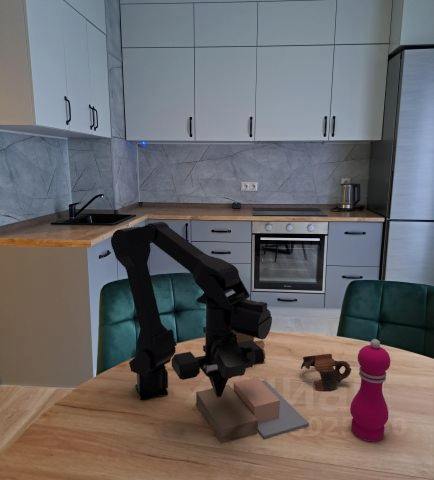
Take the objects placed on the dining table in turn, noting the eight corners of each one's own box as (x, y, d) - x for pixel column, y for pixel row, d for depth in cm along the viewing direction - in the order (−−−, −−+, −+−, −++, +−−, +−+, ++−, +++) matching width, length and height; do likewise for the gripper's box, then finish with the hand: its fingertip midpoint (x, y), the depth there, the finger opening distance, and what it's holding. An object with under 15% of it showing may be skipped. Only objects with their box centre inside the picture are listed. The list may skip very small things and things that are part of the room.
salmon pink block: (254, 406, 81) (279, 400, 83) (233, 382, 90) (257, 377, 92) (254, 424, 82) (279, 417, 84) (233, 398, 91) (256, 392, 93)
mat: (263, 439, 78) (263, 436, 78) (226, 391, 95) (226, 389, 94) (308, 425, 83) (309, 423, 82) (265, 382, 99) (265, 380, 99)
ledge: (221, 443, 77) (221, 429, 76) (196, 404, 90) (196, 391, 89) (257, 433, 80) (258, 419, 79) (228, 396, 93) (228, 384, 92)
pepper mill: (382, 448, 76) (392, 351, 72) (344, 434, 80) (352, 341, 76) (389, 428, 82) (398, 337, 78) (353, 416, 86) (360, 329, 82)
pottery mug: (303, 392, 96) (297, 357, 98) (307, 390, 104) (301, 357, 107) (354, 387, 92) (347, 350, 95) (355, 385, 101) (348, 352, 104)
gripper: (190, 351, 69) (189, 430, 72) (280, 334, 77) (277, 407, 80) (170, 327, 79) (171, 398, 82) (252, 314, 87) (250, 379, 90)
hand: (218, 396), depth 83 cm, fingers closed
